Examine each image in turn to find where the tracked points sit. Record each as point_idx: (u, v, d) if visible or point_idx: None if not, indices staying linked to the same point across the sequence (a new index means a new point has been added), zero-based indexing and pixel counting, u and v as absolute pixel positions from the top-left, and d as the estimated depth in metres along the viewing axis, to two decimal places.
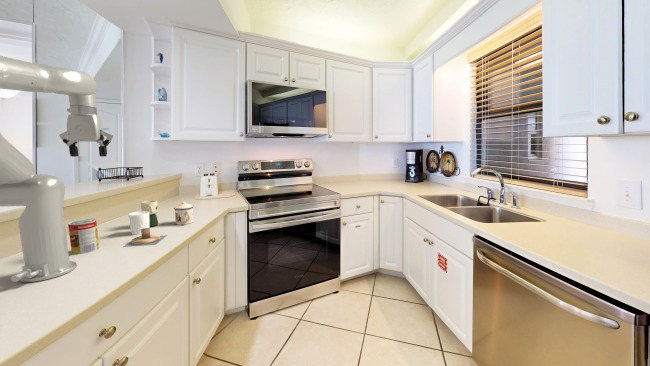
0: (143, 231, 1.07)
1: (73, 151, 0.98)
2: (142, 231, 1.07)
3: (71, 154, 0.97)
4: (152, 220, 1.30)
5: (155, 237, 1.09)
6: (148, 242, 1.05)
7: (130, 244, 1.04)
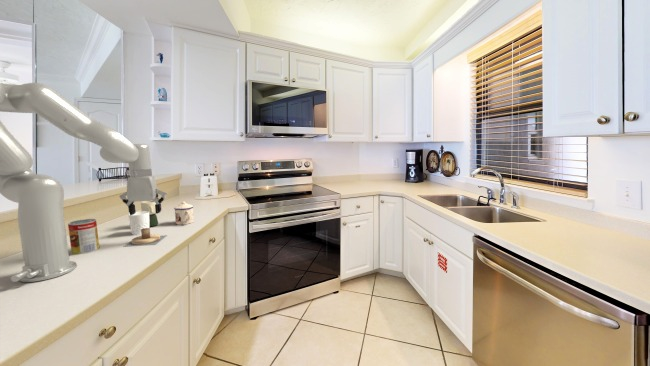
0: (143, 231, 1.07)
1: (132, 210, 1.06)
2: (142, 231, 1.07)
3: (130, 213, 1.05)
4: (152, 220, 1.30)
5: (155, 237, 1.09)
6: (148, 242, 1.05)
7: (130, 244, 1.04)
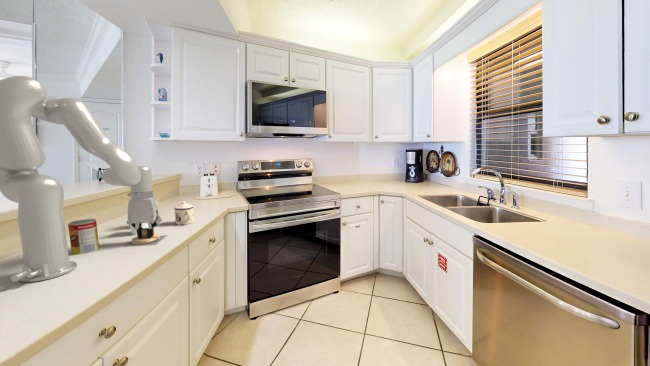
0: (143, 231, 1.07)
1: (140, 234, 1.07)
2: (142, 231, 1.07)
3: (139, 237, 1.06)
4: None
5: (155, 237, 1.09)
6: (148, 242, 1.05)
7: (130, 244, 1.04)
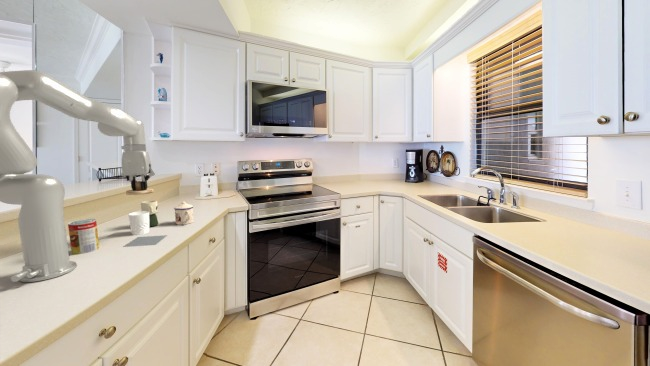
0: (137, 183, 1.11)
1: (134, 186, 1.12)
2: (136, 183, 1.11)
3: (133, 189, 1.11)
4: (152, 220, 1.30)
5: (148, 190, 1.14)
6: (141, 193, 1.10)
7: (130, 244, 1.04)
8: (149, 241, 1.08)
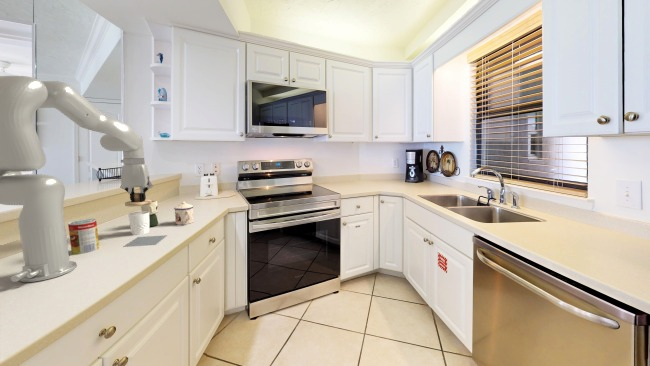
0: (135, 195, 1.16)
1: (133, 197, 1.17)
2: (134, 195, 1.16)
3: (132, 200, 1.16)
4: (152, 220, 1.30)
5: (147, 201, 1.19)
6: (140, 204, 1.15)
7: (130, 244, 1.04)
8: (149, 241, 1.08)
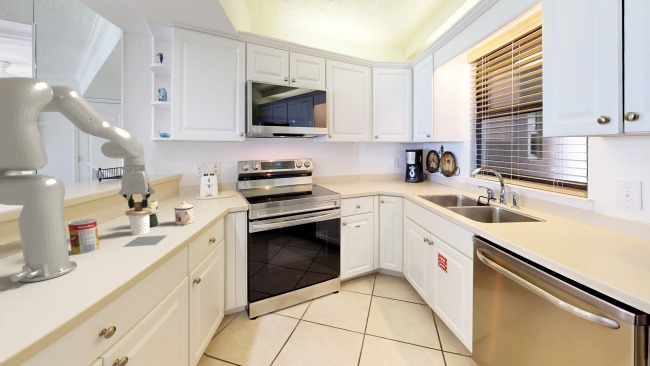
0: (136, 204, 1.17)
1: (131, 204, 1.17)
2: (135, 204, 1.17)
3: (130, 207, 1.16)
4: (152, 220, 1.30)
5: (147, 210, 1.19)
6: (140, 213, 1.15)
7: (130, 244, 1.04)
8: (149, 241, 1.08)
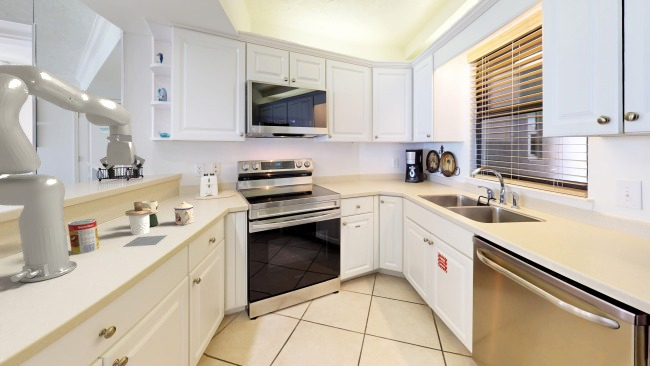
0: (136, 204, 1.17)
1: (111, 174, 1.11)
2: (135, 204, 1.17)
3: (109, 176, 1.10)
4: (152, 220, 1.30)
5: (147, 210, 1.19)
6: (140, 214, 1.15)
7: (130, 244, 1.04)
8: (149, 241, 1.08)
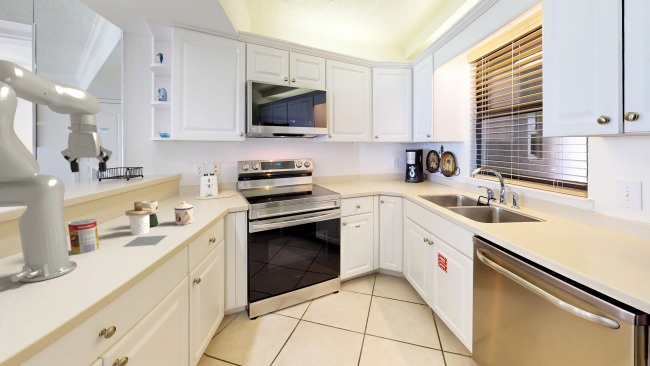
0: (136, 204, 1.17)
1: (74, 167, 1.02)
2: (135, 204, 1.17)
3: (72, 170, 1.01)
4: (152, 220, 1.30)
5: (147, 210, 1.19)
6: (140, 213, 1.15)
7: (130, 244, 1.04)
8: (149, 241, 1.08)
